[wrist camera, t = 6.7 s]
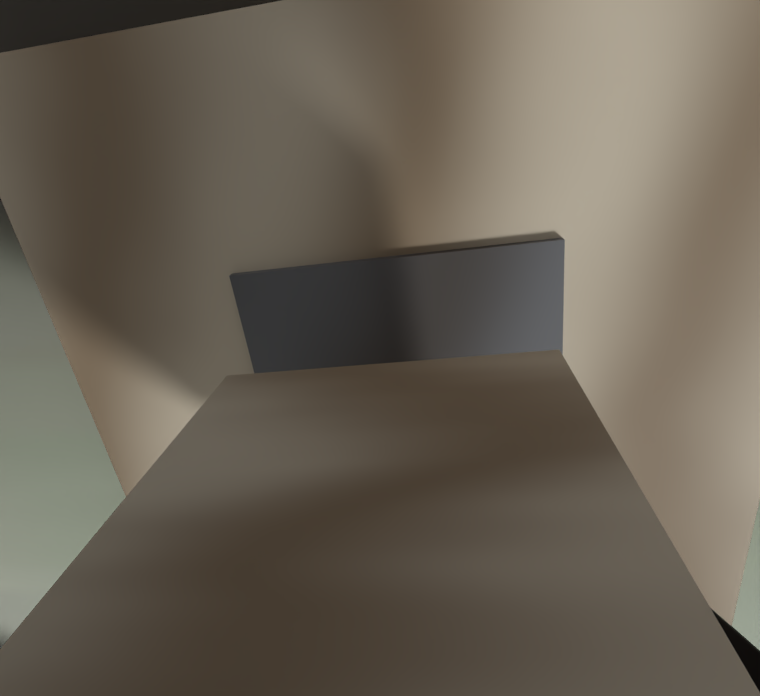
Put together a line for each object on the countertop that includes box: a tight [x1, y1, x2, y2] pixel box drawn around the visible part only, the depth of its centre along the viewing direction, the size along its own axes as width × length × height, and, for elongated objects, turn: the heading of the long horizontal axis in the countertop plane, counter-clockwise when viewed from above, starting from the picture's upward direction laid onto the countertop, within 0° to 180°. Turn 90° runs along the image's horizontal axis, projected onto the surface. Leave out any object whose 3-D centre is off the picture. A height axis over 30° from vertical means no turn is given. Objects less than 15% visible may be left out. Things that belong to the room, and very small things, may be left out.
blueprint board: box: [0, 0, 760, 626], centre depth 12 cm, size 16×16×1 cm
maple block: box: [0, 350, 760, 696], centre depth 6 cm, size 5×5×5 cm
